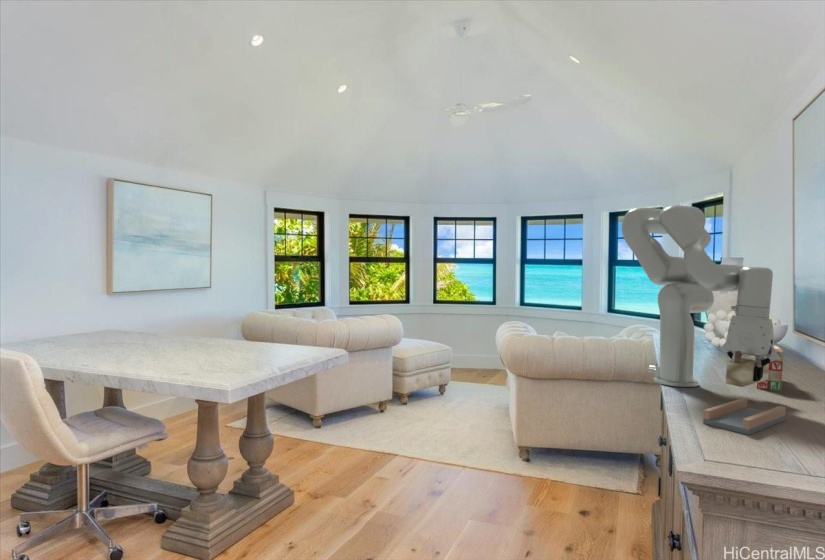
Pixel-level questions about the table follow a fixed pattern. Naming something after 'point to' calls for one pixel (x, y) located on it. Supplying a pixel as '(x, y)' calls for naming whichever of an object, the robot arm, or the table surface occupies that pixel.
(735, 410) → the jig cradle
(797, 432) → the table surface
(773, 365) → the stack of blocks
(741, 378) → the tapered cream block
